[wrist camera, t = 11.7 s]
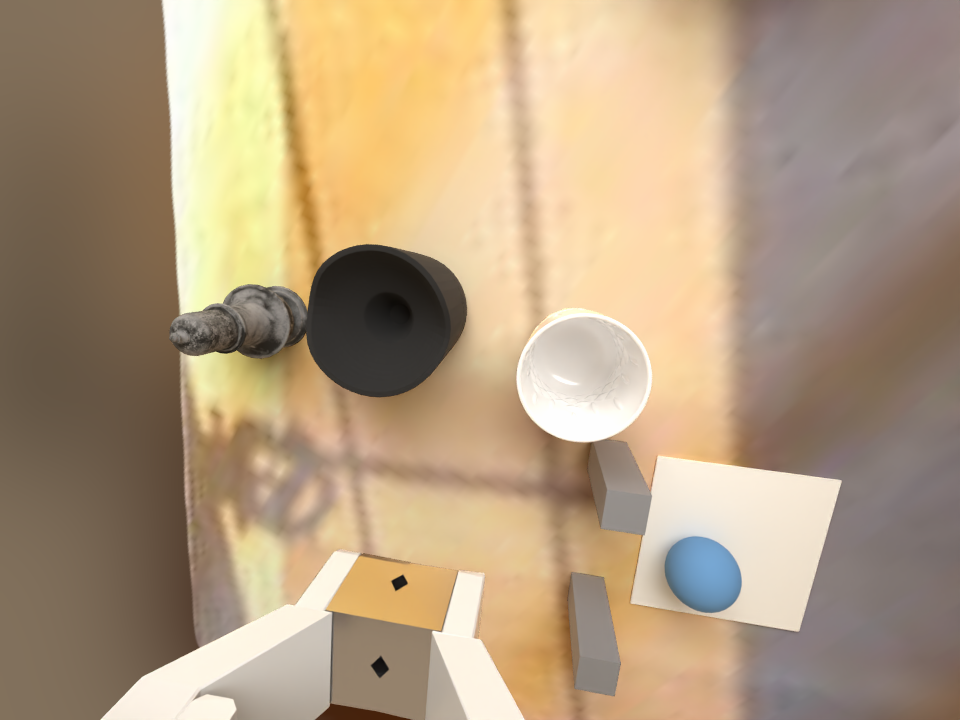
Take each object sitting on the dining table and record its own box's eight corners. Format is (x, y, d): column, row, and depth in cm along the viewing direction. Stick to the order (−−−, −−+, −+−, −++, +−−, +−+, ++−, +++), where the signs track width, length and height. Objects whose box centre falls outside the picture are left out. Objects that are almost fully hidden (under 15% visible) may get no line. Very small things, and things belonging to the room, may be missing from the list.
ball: (657, 527, 37) (708, 518, 39) (644, 583, 38) (694, 571, 40) (711, 575, 32) (767, 562, 34) (693, 637, 34) (748, 621, 36)
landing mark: (840, 480, 36) (841, 481, 36) (797, 629, 39) (798, 631, 39) (657, 455, 38) (657, 456, 37) (629, 601, 41) (630, 603, 40)
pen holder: (339, 294, 38) (271, 305, 29) (426, 225, 36) (384, 211, 27) (406, 384, 39) (362, 424, 30) (495, 321, 37) (479, 342, 27)
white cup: (519, 392, 38) (512, 436, 28) (525, 297, 36) (520, 309, 27) (617, 400, 37) (643, 448, 27) (627, 303, 35) (660, 317, 26)
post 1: (626, 442, 38) (652, 496, 29) (621, 473, 38) (644, 535, 30) (592, 437, 38) (607, 489, 29) (587, 468, 39) (600, 528, 30)
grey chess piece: (259, 270, 39) (139, 273, 27) (321, 301, 39) (226, 317, 27) (239, 332, 40) (116, 360, 29) (298, 361, 40) (199, 401, 28)
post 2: (603, 577, 40) (620, 663, 32) (598, 604, 41) (614, 696, 32) (571, 572, 41) (579, 656, 32) (567, 599, 41) (574, 688, 33)
